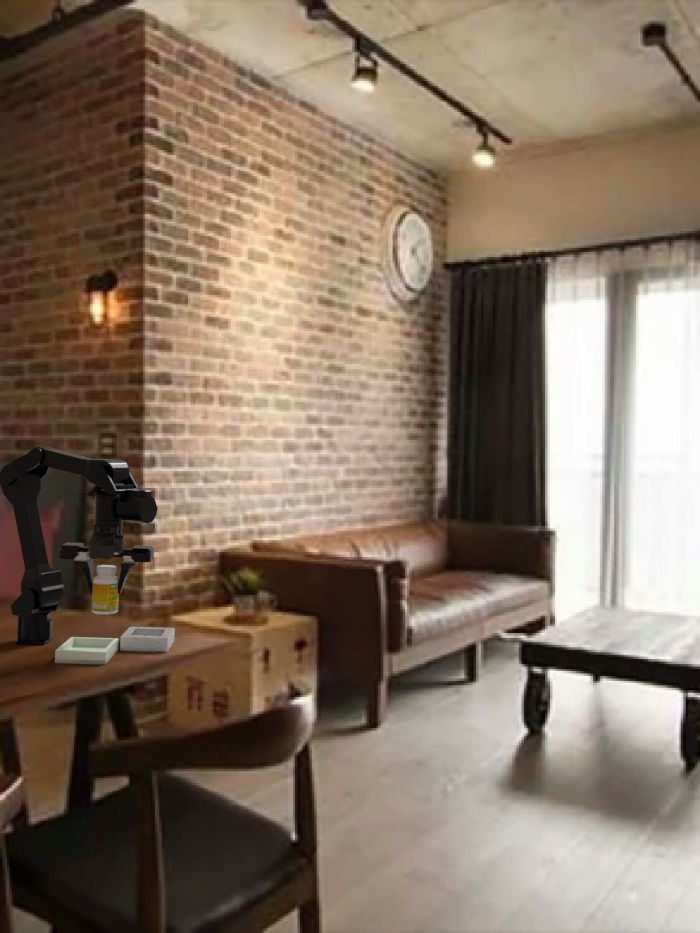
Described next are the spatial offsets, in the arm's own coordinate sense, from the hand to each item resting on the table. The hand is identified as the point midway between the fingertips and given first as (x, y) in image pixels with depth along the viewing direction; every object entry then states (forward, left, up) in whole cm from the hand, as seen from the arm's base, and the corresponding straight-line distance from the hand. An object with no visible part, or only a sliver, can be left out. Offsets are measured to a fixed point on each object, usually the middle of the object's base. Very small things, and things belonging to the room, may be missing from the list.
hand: (105, 593), depth 183 cm
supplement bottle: (0, 0, -4) cm, 4 cm away
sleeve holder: (+8, +8, -13) cm, 17 cm away
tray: (-3, -3, -13) cm, 13 cm away
